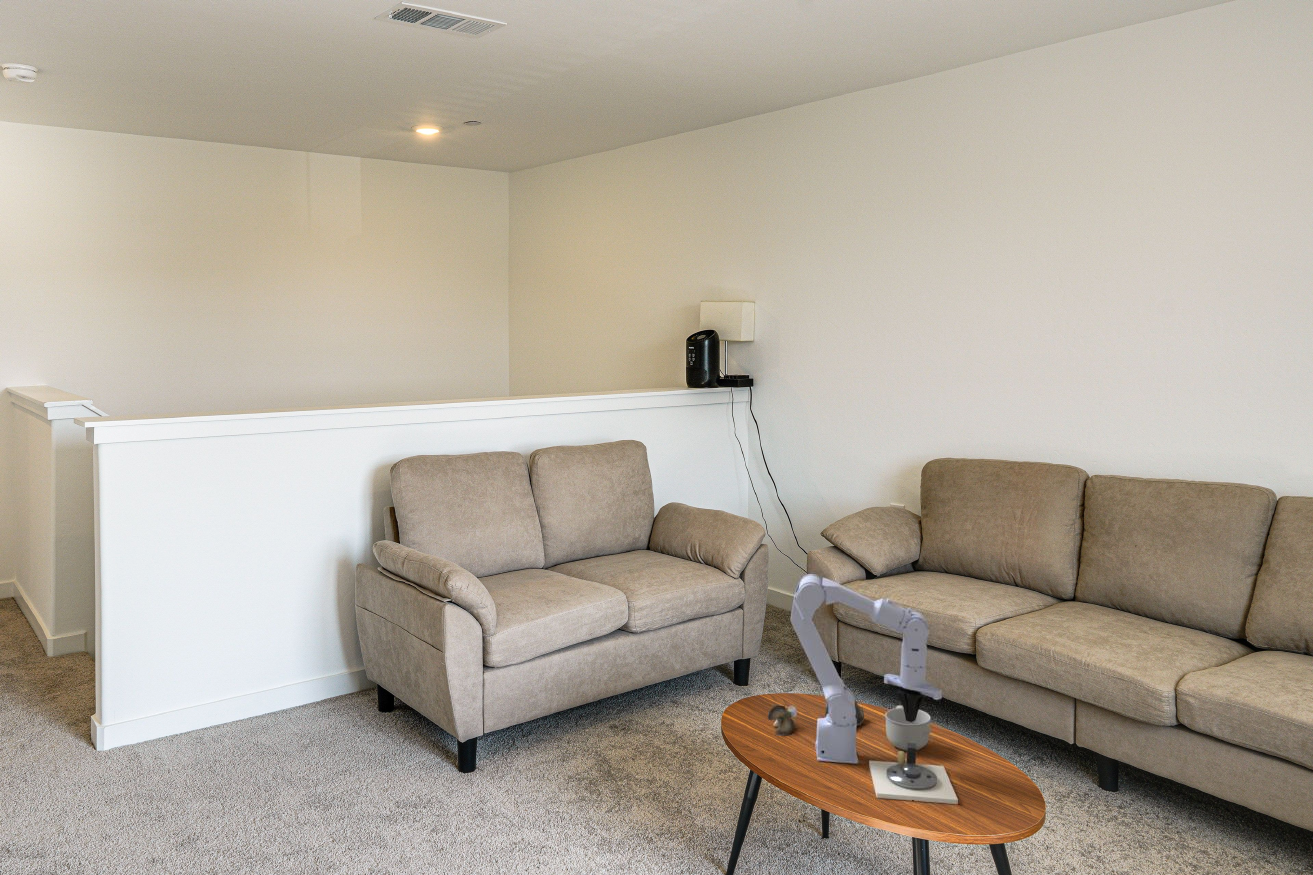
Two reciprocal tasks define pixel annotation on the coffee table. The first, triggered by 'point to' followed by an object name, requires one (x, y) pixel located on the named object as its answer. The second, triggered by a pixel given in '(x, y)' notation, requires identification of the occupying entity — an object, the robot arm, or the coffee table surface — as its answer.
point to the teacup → (907, 728)
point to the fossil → (858, 715)
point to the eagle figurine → (783, 718)
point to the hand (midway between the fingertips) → (910, 720)
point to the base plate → (893, 791)
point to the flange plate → (906, 780)
